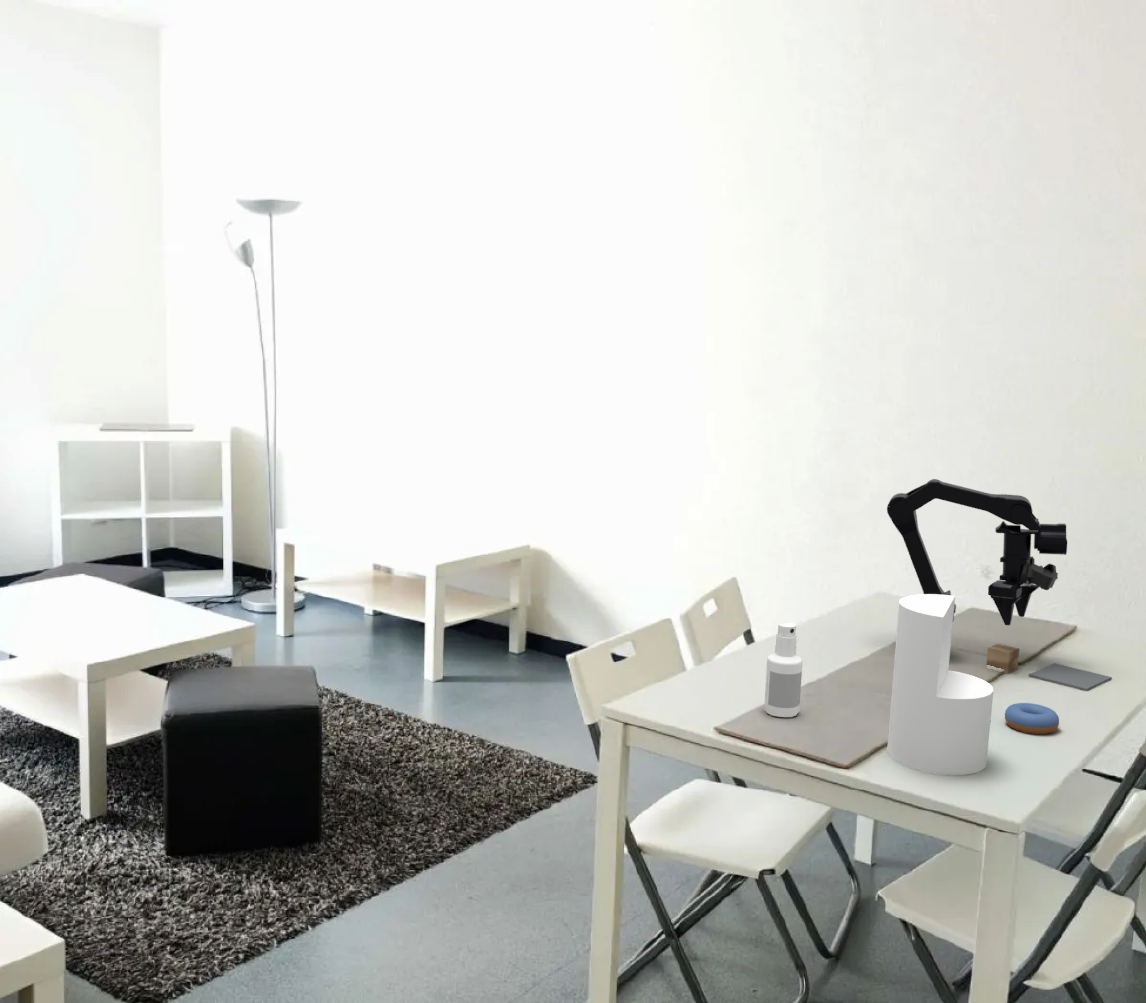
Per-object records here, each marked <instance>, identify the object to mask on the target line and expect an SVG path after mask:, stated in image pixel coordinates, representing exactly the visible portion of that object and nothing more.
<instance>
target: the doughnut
mask: <svg viewBox="0 0 1146 1003" xmlns="http://www.w3.org/2000/svg"><path fill="white" fill-rule="evenodd" d="M1004 720H1005V722H1006V724H1007V725H1008V726H1009V727H1010V728H1011V729H1013V730H1017V731H1018V732H1022V733H1025V734H1032V735H1049V734H1052V733H1054V732H1056V731H1057V730H1058V728H1059V725H1060V717H1059V715H1058V714H1057V713H1056V711H1055V710H1053V709H1051V708H1050V707H1047V706H1045V705H1042V704H1037V703H1030V702H1019V703H1018V702H1017V703H1013V704H1011V705H1009V706H1008V707H1007V708H1006V710H1005V712H1004Z"/></svg>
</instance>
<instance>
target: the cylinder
mask: <svg viewBox="0 0 1146 1003" xmlns="http://www.w3.org/2000/svg"><path fill="white" fill-rule="evenodd" d="M898 601H899V602H898V610H897V611H898V613H897V624H896V638H895V649H894V650H895V651H894V663H893V674H892V675H893V676H892V685H891V686H892V688H891V700H890V711H889V726H888V736H887V749H886V754H887V755H888V756H889V758H890V759H892V760H893V761H895V763H898V764H900V765H902V766H903V767H906V768H909V769H912V770H915V771H919V772H923V773H929V774H933V775H939V776H941V775H942V776H967V775H972V774H977V773H979V772H981V771H983V770H985V768H986V767H987V762H988V751H989V741H990V731H991V719H992V718H991V717H992V708H993V698H994V687H993V685H991V684H990V683H989V682H988V681H986V680H984V679H982V678H980V677H977V676H974V675H971V674H968V673H964V672H961V671H954V670H950V669H949V668H950V658H951V649H952V648H951V645H952V634H953V625H954V624H953V623H954V621H953V614H954V615H955V613H954V603H955V602H956V595H952V594H951V595H939V594H924V593H923V594H922V593H921V594H911V595H907V596H904V597H902V598H900V599H899V600H898ZM955 604H956V603H955Z"/></svg>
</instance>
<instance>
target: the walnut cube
mask: <svg viewBox="0 0 1146 1003" xmlns="http://www.w3.org/2000/svg"><path fill="white" fill-rule="evenodd" d="M1019 658H1020V648H1019V647H1015V646H1010V645H1006V644H1002V643H996V644H994V645H991V646H988V647H987V655H986V665H990V666H994V667H996V668H1001V669H1004V670H1005V671H1004V673H1003V674H1010V673H1012V672H1016V671H1017V670H1018V669H1019Z"/></svg>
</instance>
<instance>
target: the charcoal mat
mask: <svg viewBox="0 0 1146 1003" xmlns="http://www.w3.org/2000/svg"><path fill="white" fill-rule="evenodd" d="M1028 677H1030V678H1034V679H1038V680H1041V681H1045V682H1050V683H1054V684H1057V685H1060V686H1065V687H1069V688H1073V689H1076V690H1080V691H1085V692H1088V691H1090V690H1092V689H1094V688H1096V686H1097V687H1099V686H1101V685H1103V684H1105V683H1107V682H1109V681H1111V680H1112V678H1113V677H1112V676H1109V675H1105V674H1100V673H1097V672H1093V671H1089V670H1084V669H1080V668H1075V667H1072V666H1068V665H1065V664H1060V663H1057V662H1053V663H1052V664H1049V665H1047V666H1044V667H1042V668H1040V669H1038V670H1035V671H1032V672H1030V673H1028ZM1108 680H1109V681H1108ZM1102 683H1103V684H1102ZM1100 684H1101V685H1100ZM1098 685H1099V686H1098Z"/></svg>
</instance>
